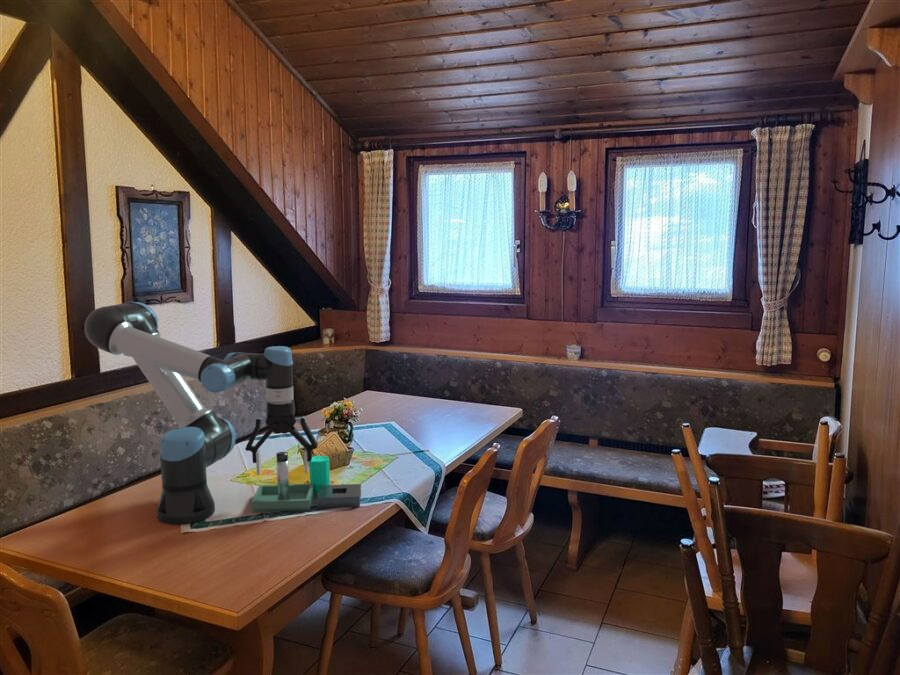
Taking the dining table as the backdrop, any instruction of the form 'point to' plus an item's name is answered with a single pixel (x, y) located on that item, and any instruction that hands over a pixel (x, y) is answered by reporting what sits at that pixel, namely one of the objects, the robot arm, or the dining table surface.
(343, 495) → the block
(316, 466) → the candle
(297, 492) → the tray
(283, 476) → the pin
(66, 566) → the dining table surface
